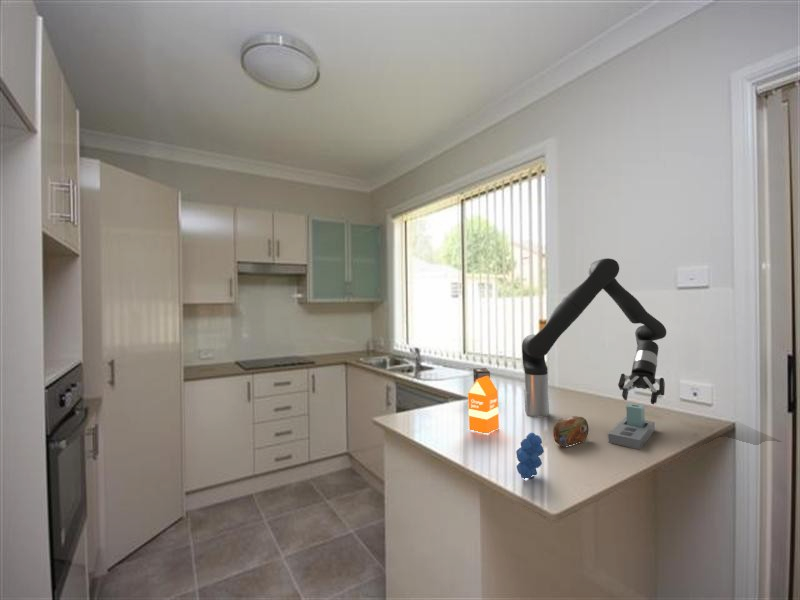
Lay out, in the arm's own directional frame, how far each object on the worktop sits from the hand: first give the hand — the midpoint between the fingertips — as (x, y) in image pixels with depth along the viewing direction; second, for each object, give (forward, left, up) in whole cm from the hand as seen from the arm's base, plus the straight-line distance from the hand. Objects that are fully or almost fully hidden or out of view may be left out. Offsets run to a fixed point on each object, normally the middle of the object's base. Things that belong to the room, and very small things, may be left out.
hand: (638, 401), depth 133 cm
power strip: (-6, -8, -10) cm, 14 cm away
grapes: (-46, -41, -10) cm, 62 cm away
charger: (-3, -4, -10) cm, 11 cm away
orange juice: (-56, -6, -10) cm, 57 cm away
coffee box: (-55, +29, -10) cm, 63 cm away
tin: (-28, -16, -10) cm, 33 cm away
